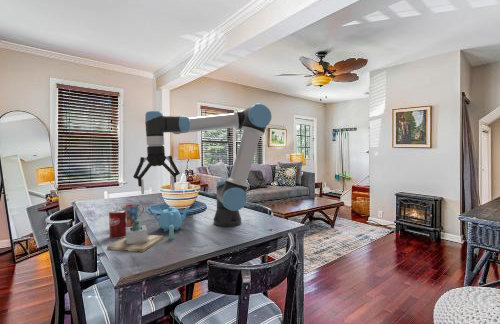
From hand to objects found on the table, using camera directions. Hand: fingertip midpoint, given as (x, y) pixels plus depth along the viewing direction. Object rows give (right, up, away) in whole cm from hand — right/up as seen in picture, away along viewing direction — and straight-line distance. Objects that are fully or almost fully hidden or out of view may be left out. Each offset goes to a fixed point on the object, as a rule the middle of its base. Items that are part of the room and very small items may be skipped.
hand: (158, 191), depth 124 cm
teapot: (+3, -20, +13) cm, 25 cm away
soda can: (-19, -21, +1) cm, 28 cm away
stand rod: (+7, -21, -3) cm, 22 cm away
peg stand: (-6, -21, -9) cm, 24 cm away
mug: (-20, -20, +19) cm, 34 cm away
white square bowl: (-7, -20, -9) cm, 22 cm away
